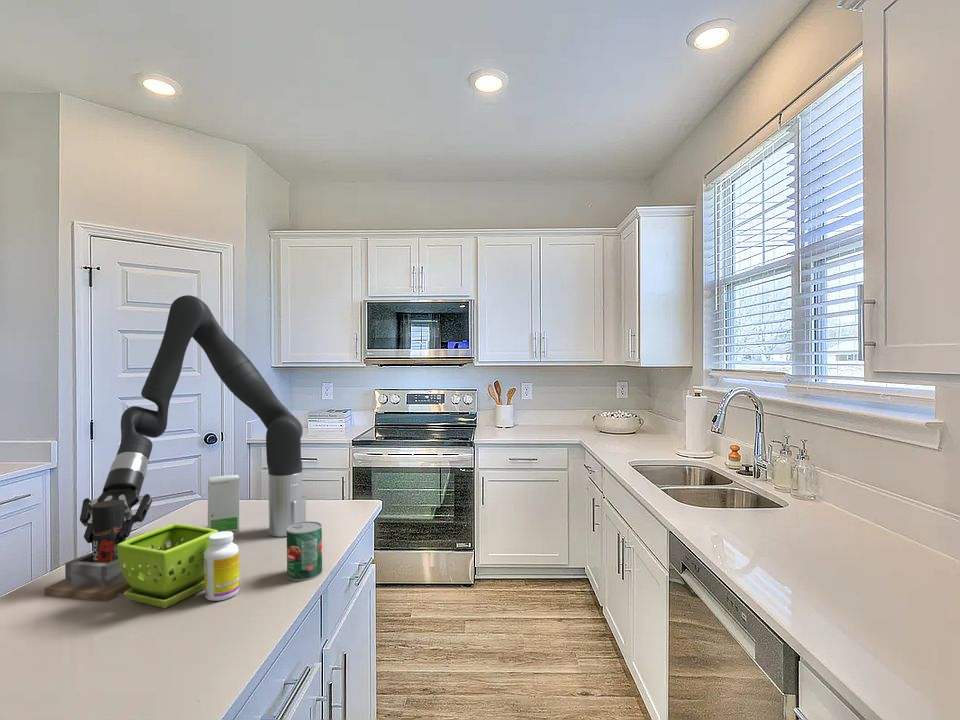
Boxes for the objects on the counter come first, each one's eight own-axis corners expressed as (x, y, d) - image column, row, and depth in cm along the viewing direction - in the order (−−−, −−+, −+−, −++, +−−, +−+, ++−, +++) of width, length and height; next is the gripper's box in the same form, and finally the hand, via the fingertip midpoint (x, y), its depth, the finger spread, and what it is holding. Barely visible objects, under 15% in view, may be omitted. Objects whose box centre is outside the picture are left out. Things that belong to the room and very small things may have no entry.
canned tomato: (329, 570, 121) (329, 523, 121) (305, 583, 114) (304, 534, 114) (304, 564, 124) (303, 519, 124) (279, 577, 117) (278, 529, 117)
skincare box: (208, 536, 145) (207, 481, 145) (207, 529, 150) (206, 476, 150) (240, 530, 149) (240, 477, 149) (238, 524, 155) (238, 473, 154)
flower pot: (114, 604, 105) (113, 543, 105) (176, 577, 118) (175, 522, 118) (164, 616, 100) (163, 551, 100) (222, 585, 113) (221, 528, 113)
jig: (187, 559, 128) (186, 535, 128) (106, 601, 106) (106, 572, 106) (133, 555, 131) (133, 532, 131) (44, 594, 110) (44, 567, 109)
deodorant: (131, 564, 119) (130, 500, 118) (111, 575, 113) (109, 507, 112) (108, 563, 119) (107, 499, 119) (86, 574, 113) (84, 507, 113)
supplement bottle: (246, 590, 111) (245, 531, 111) (221, 604, 104) (221, 541, 104) (222, 585, 113) (221, 528, 113) (197, 599, 107) (196, 538, 107)
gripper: (87, 468, 121) (61, 535, 110) (155, 464, 125) (136, 529, 113) (98, 485, 126) (74, 551, 115) (163, 481, 130) (146, 544, 118)
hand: (105, 539), depth 114 cm, fingers closed on deodorant, 6 cm apart
